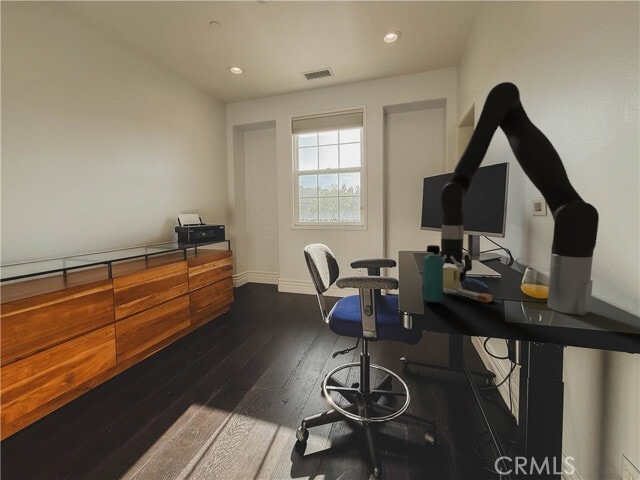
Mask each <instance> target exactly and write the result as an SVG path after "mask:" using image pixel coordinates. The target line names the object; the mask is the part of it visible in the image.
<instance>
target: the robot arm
mask: <svg viewBox="0 0 640 480" xmlns="http://www.w3.org/2000/svg"><path fill="white" fill-rule="evenodd" d="M481 109H482V110H481V112H480V115H479V118H478V121H477V122H476V125H475V128H474V130H473V132H472V134H471V136H470V138H469V140H468V142H467V144H466V146H465V148H464V150H463V151H462V153H461V156H460V157H459V159H458V161H457V163H456V165H455V167H454V170H453V176H452V177H451V180H450V182H449V183H448V182H447V183H446V184H445V185H444V186H443V187H442V189H441V194H440V199H441V201H440V202H441V210H442V219H441V221H442V222H441V223H442V224H441V225H442V226H441V231H440V232H441V233H440V234H441V235H440V237H441V238H440V252H438V253H433V254H432V255H440V256H441V257H442V258H443V267H444V266H445V264H449V265H453V266H454V265H455V268H458V269H459V270H460V277H459V281H460V282H461V283H464V282H465V281H466V280H467V272H470V271H472V270H473V261H472V260H473V259H472V258H473V257H472V254H469V253H468V254H464V253H463V252H464V251H463V250H464V237H465V236H464V235H465V234H464V233H465V229H464V211H463V199H464V198H465V197H466V195H467V192H468V190H469V188H470V185H471V183H472V180H473V178H474V176H475V175H476V174H477V172H478V171H479V169H480V167H481V165H482V163H483V161H484V158H485V157H486V154H487V152H488V150H489V147H490V145H491V142H492V140H493V137H494V136H495V134H496V132H497V129H498V128H500V129H501V131H502V132H503V134H504V135H505V137H506V139H507V142H508V145H509V146H510V149H511V152H512V154H513V155H514V158H515V160H516V162H518V164H519V165H518V166H520V167H521V170H522V171H523V172H524V174H525V175H526V177H527V178H528V179H529V181H530V182H531V183H532V184H533V186H534V187H535V188H536V189H537V190H538V191H539V192H540V194H541V195H542V197H543V198H544V201H545V202H546V205H547V206H548V209H549V211H550V213H551V216H552V219H553V223H554V225H553V226H554V227H553V239H552V244H551V251H550V253H551V254H550V264H549V266H550V267H549V277H548V279H549V280H548V290H547V292H548V293H547V307H548V308H549V309H550V310H553V311H556V312H557V313H558V312H559V313H563V314H567V315H577V316H582V317H584V316H585V315H587V314H588V313H589V312H591V305H592V304H591V302H592V295H593V294H592V291H593V284H594V282H593V280H591V279H592V267H593V258H594V250H595V248H596V246H597V237H598V230H599V222H600V221H599V220H600V217H599V212H598V209H597V208H596V207H595V206H594V205H593V204H591V203H588V202H586V201H585V200H584V199H583V198H582V197H581V195H580V194H579V192H578V191H577V190H576V189H575V187H574V186H573V184H572V183H571V181H570V180H569V177H568V176H569V175H568V174H567V170H566V168H565V166H564V165H565V164H564V162H563V160H562V158H561V156H560V154H559V152H557V149H556V148H555V146H554V145H553V144H552V142H551V141H550V140H549V138H548V137H547V136H546V134H544V132H543V131H541V129H540V128H539V127H537V126H536V125H535V124H534V123H533V121H532V120H531V119H530V118H529V116H528V113H527V112H526V111H525V108H524V105H523V104H522V101H521V93H520V89H519V88H518V86H517V85H516V84H515V83H513V82H510V81H504V82H501V83H498V84H496V85H495V86H493V87H492V89H490V90H489V91H488V93H487V95H486V97H485V100H484V104H483V105H482V108H481ZM463 260H464V262H463Z"/></svg>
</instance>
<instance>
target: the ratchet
mask: <svg viewBox="0 0 640 480" xmlns="http://www.w3.org/2000/svg"><path fill="white" fill-rule="evenodd" d="M443 293H446V294H445V295H447V294H455V295H454V296H459V295H462V296H461V297H463V296H466V297H465V298H467V297H469V298H468V299H472V300H474V301H477V302H481V303H485V304H487V303H488V304H489V303H490V302H492V301H493V295H492V294H489V293H485V292H481V293H479V292H476V291H475V292H474V291H472V290H471V291H470V290H468V289H463V286H461V287H459V288H457V289H454V290H453V289H449V288H445V287H443ZM456 294H458V295H456Z"/></svg>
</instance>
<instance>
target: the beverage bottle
mask: <svg viewBox="0 0 640 480" xmlns="http://www.w3.org/2000/svg"><path fill="white" fill-rule="evenodd" d="M440 251H441V245H437V244H436V245H435V244H434V245H433V244H429V245H426V252H427V253H431V254H426V255H425V256H424V257H423V258H422V261H423V272H422V273H423V275H422V280H423V281H422V297H423V300H425V301H428V302H432V303H438V302H439V303H440V302H442V301H443V299H444V294H443V285H444V284H443V283H444V282H443V280H444V278H443V268H444V266H443V258H442V256H441V255H433V254H432V253H438V252H440Z"/></svg>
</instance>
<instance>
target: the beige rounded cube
mask: <svg viewBox="0 0 640 480" xmlns="http://www.w3.org/2000/svg"><path fill="white" fill-rule="evenodd" d="M459 277H460V270H459V269H458V267H452V266H447V267H443V278H444V280H443V282H444V283H443V284H444V285H443V287H445V288H449V289H453V290H454V289H457V288H459V287H462V282H460V281H459Z"/></svg>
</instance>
